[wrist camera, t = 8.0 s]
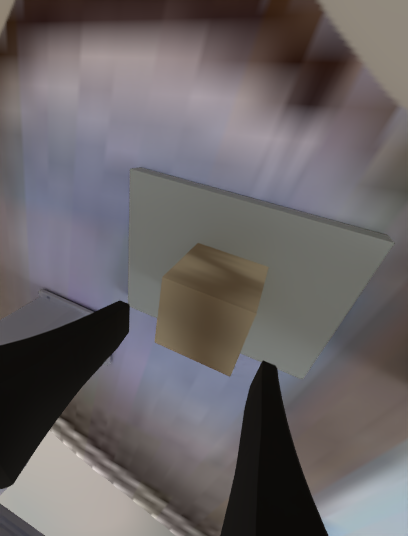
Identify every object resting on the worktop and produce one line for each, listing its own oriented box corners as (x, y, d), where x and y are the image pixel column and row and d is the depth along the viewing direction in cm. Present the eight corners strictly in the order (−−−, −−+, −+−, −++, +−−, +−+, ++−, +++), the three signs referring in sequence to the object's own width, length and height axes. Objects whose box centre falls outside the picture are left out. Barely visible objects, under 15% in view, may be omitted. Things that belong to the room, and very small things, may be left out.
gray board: (135, 298, 23) (127, 305, 22) (140, 167, 16) (129, 168, 15) (302, 367, 19) (302, 379, 18) (387, 235, 13) (394, 243, 12)
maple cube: (186, 298, 19) (154, 342, 15) (197, 242, 16) (162, 277, 12) (246, 322, 18) (230, 376, 14) (268, 267, 15) (256, 313, 11)
